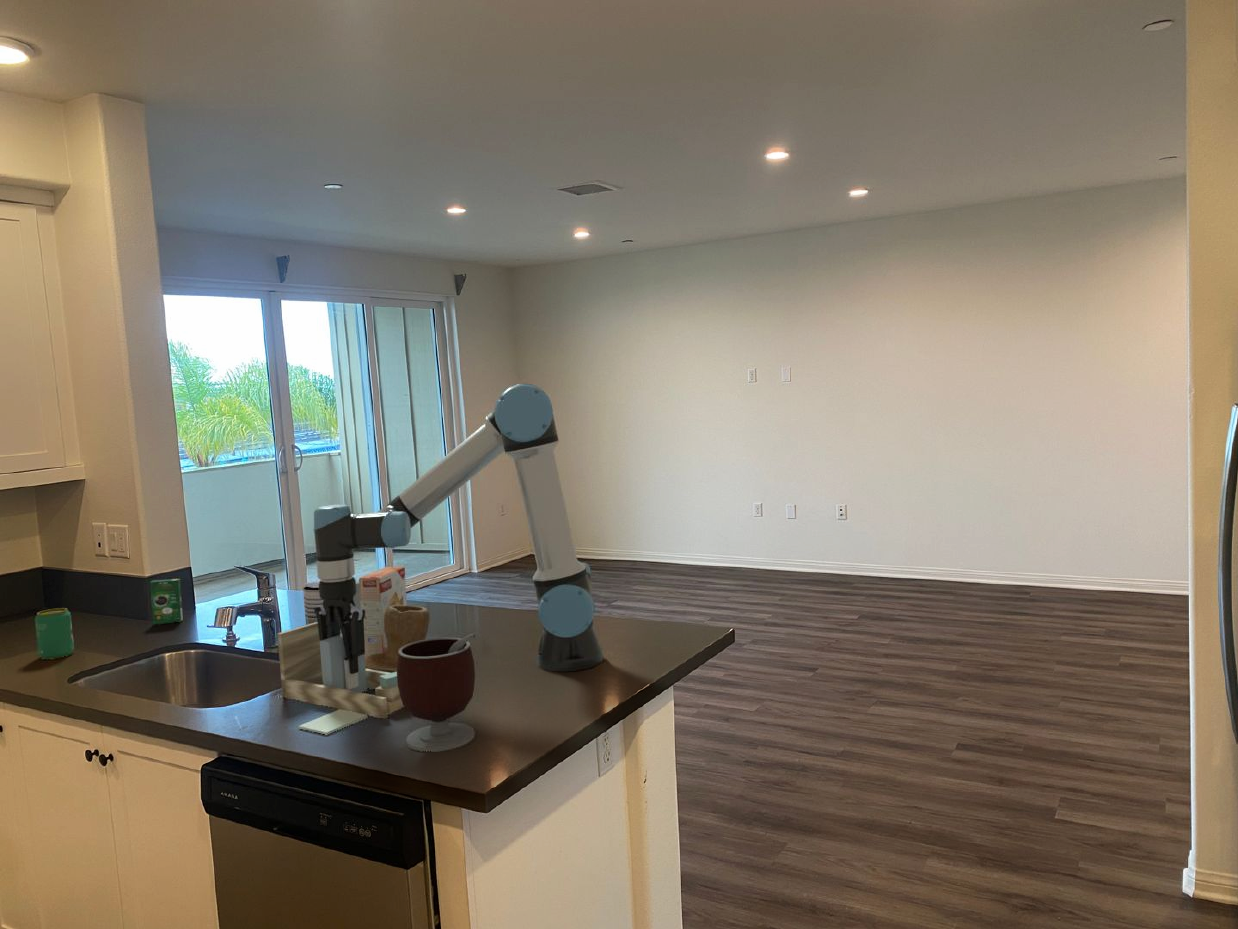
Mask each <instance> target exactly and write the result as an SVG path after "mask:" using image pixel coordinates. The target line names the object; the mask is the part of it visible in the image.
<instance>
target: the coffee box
mask: <svg viewBox="0 0 1238 929" xmlns="http://www.w3.org/2000/svg"><path fill="white" fill-rule="evenodd" d="M149 585H150V597H151V611H152V625H153V626H155V625H156V624H157V625H164V624H166V623H167V624H175V623H174V622H179V623H182V622H183V621H184V618H183V603H182V602H183V601H182V600H183V599H182V586H181V585H182V584H181V578H172V579H154V580H151V581H150V583H149ZM182 620H183V621H182Z"/></svg>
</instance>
